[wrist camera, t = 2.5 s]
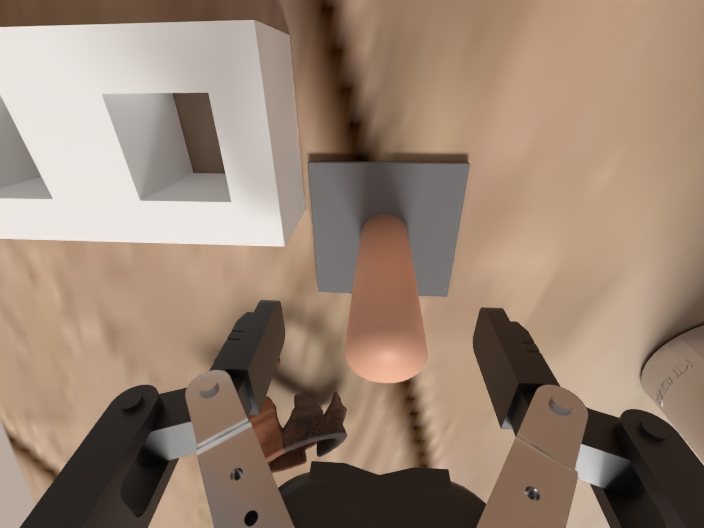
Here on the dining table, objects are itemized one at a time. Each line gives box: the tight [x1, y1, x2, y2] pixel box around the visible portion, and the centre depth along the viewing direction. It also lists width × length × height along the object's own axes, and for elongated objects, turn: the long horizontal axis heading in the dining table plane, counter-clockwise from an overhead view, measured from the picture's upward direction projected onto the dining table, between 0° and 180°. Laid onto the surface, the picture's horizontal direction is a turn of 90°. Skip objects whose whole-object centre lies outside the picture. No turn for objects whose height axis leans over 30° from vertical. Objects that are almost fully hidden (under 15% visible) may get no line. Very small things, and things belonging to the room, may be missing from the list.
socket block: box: [0, 20, 305, 246], centre depth 16 cm, size 18×9×5 cm, turn 91°
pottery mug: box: [248, 358, 347, 473], centre depth 27 cm, size 12×10×8 cm
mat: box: [308, 161, 470, 297], centre depth 20 cm, size 9×9×1 cm
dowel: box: [344, 214, 428, 383], centre depth 16 cm, size 3×3×10 cm
